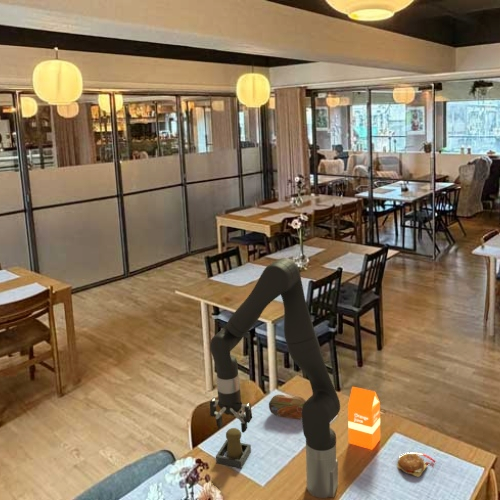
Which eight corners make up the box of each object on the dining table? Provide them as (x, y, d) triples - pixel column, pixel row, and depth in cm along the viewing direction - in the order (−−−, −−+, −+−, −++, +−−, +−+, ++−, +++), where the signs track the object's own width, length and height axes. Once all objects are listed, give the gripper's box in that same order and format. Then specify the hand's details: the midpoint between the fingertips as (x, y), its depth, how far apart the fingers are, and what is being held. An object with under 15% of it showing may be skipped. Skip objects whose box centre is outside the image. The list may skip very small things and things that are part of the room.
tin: (269, 415, 210) (268, 396, 208) (271, 411, 213) (270, 392, 211) (307, 420, 206) (307, 401, 204) (309, 415, 209) (308, 396, 206)
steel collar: (251, 452, 190) (250, 444, 189) (241, 469, 182) (240, 461, 181) (226, 447, 194) (226, 439, 193) (216, 463, 185) (215, 456, 184)
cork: (244, 452, 190) (243, 425, 187) (242, 464, 184) (240, 436, 181) (227, 452, 191) (225, 425, 188) (224, 463, 185) (222, 436, 182)
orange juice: (357, 432, 199) (356, 381, 194) (380, 439, 194) (380, 387, 189) (348, 443, 192) (347, 391, 188) (372, 450, 187) (371, 396, 183)
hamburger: (428, 488, 170) (429, 473, 168) (387, 470, 179) (387, 454, 177) (446, 464, 180) (447, 449, 178) (406, 447, 189) (406, 433, 187)
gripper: (204, 389, 179) (208, 432, 183) (244, 395, 174) (247, 439, 178) (213, 378, 185) (217, 419, 190) (252, 383, 180) (255, 426, 185)
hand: (232, 429), depth 184 cm, fingers open, 8 cm apart
